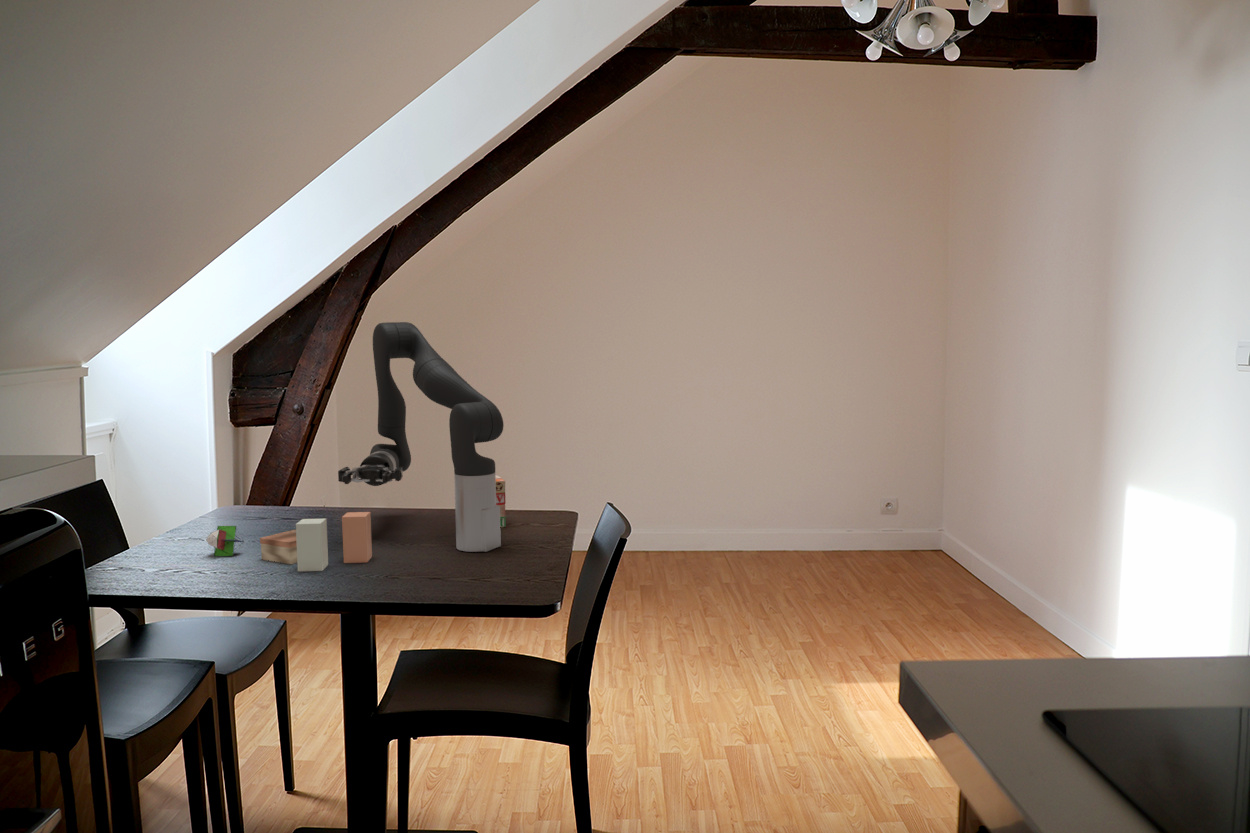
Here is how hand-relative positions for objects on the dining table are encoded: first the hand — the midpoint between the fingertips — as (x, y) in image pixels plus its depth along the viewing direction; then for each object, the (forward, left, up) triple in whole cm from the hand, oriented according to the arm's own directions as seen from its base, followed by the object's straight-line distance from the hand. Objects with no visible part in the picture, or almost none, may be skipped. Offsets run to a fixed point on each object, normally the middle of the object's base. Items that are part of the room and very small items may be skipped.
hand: (365, 479), depth 208 cm
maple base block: (+9, +14, -16) cm, 23 cm away
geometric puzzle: (+25, +18, -16) cm, 35 cm away
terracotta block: (-6, +10, -16) cm, 19 cm away
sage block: (-2, +19, -16) cm, 25 cm away
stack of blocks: (-8, -35, -16) cm, 39 cm away
